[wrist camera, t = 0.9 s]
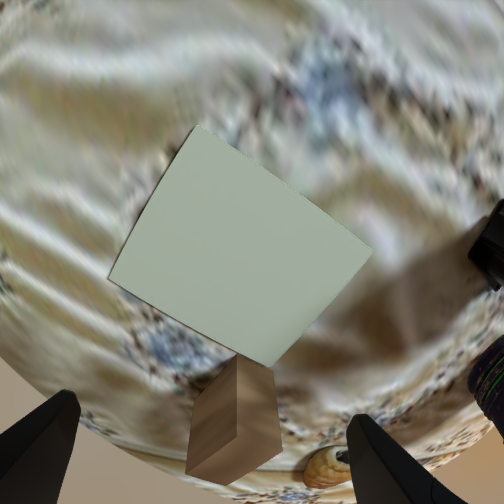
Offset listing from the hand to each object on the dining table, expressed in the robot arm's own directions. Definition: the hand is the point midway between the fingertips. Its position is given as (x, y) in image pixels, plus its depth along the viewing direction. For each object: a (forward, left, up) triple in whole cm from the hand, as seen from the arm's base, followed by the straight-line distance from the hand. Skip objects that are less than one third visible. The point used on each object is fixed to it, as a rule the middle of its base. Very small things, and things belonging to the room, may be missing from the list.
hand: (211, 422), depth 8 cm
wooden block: (-7, +10, -13) cm, 18 cm away
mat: (-1, 0, -13) cm, 13 cm away
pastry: (-25, +16, -14) cm, 33 cm away
